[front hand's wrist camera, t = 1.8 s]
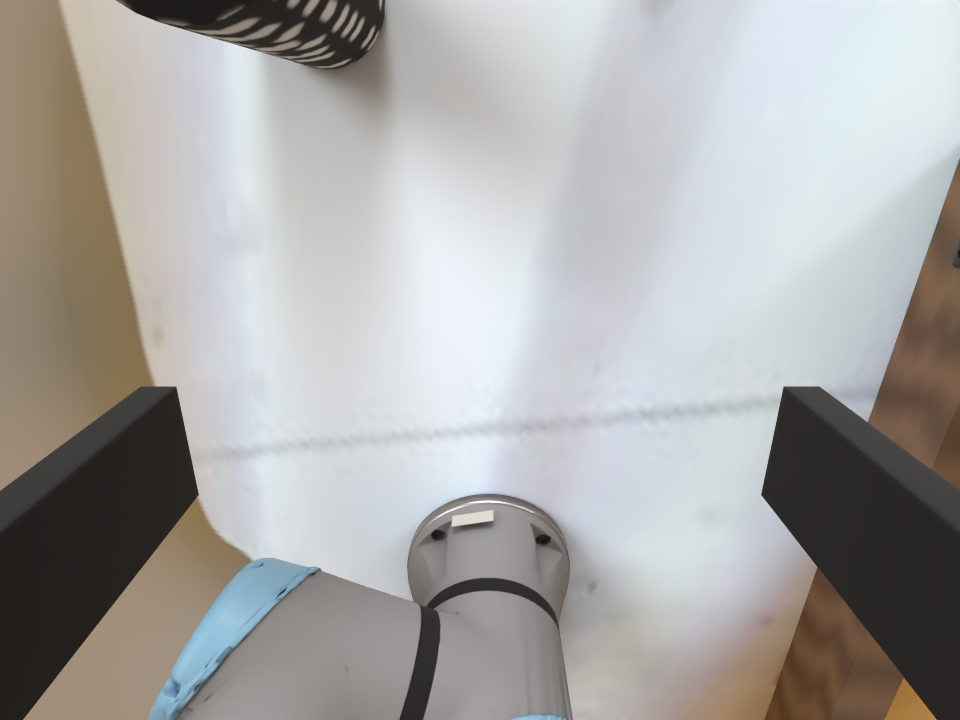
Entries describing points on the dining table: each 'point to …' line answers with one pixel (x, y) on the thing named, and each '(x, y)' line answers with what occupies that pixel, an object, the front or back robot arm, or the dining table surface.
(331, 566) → the dining table surface
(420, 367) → the dining table surface
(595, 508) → the dining table surface
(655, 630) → the dining table surface
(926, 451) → the beam
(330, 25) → the black white spotted cylinder
